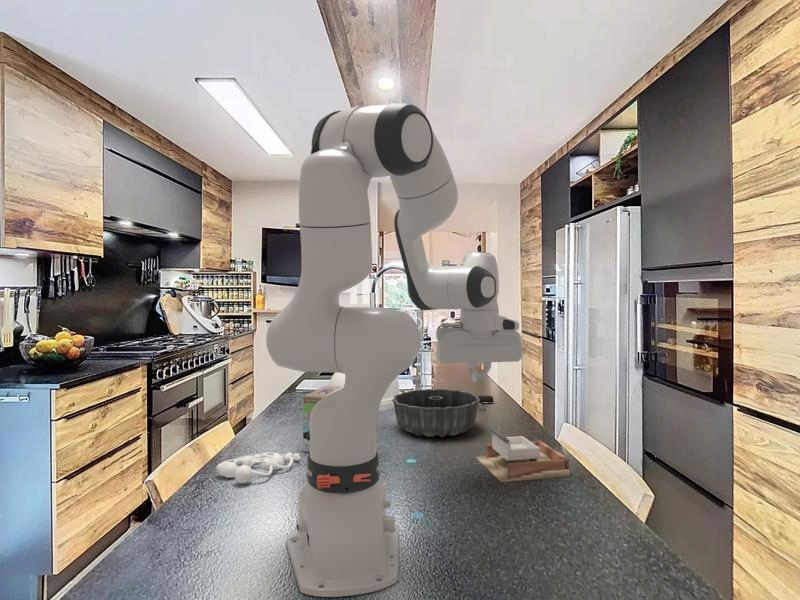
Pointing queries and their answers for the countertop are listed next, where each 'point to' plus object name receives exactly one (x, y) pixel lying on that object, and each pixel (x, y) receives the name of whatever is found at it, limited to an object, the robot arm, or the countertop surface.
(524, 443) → the white tray with rod
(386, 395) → the dome cover
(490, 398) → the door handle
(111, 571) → the countertop surface
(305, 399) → the tea box
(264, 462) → the tangled rod sculpture
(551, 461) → the dock
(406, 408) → the bundt pan
